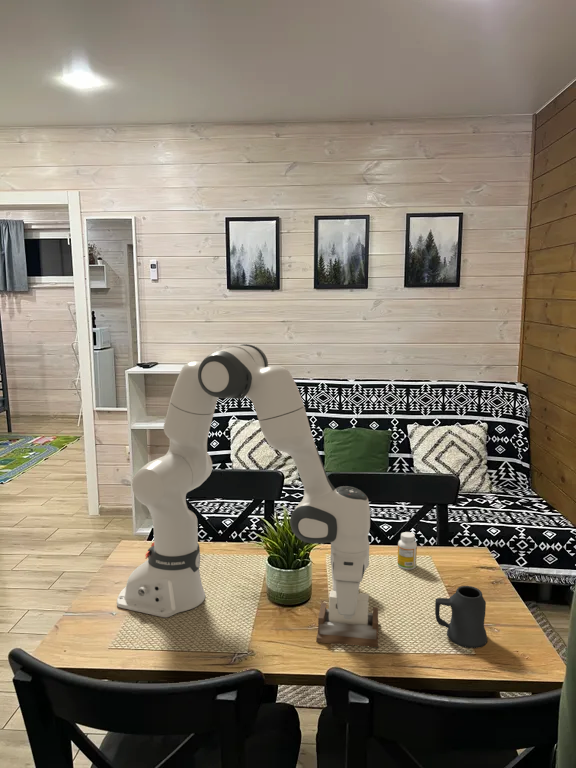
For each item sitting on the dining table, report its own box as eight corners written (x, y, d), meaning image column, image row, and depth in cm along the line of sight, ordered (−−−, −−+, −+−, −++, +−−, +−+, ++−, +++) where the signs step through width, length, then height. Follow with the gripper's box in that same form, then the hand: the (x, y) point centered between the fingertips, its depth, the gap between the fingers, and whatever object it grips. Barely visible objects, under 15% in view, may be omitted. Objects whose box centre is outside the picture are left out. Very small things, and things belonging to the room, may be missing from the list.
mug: (484, 627, 138) (486, 583, 137) (490, 650, 130) (493, 603, 128) (432, 622, 141) (434, 579, 139) (435, 644, 132) (437, 598, 130)
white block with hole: (367, 621, 137) (368, 593, 136) (367, 630, 133) (368, 601, 132) (329, 617, 138) (330, 590, 137) (328, 626, 135) (328, 598, 133)
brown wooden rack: (316, 641, 132) (316, 621, 132) (320, 618, 142) (321, 599, 141) (378, 647, 130) (378, 627, 130) (378, 623, 140) (379, 604, 139)
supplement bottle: (404, 559, 174) (405, 529, 172) (419, 566, 170) (421, 534, 168) (393, 565, 170) (394, 534, 169) (408, 571, 166) (410, 540, 165)
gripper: (339, 537, 144) (338, 589, 146) (332, 576, 124) (331, 635, 126) (364, 539, 143) (363, 591, 145) (362, 578, 123) (360, 638, 125)
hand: (348, 612), depth 135 cm, fingers open, 3 cm apart
